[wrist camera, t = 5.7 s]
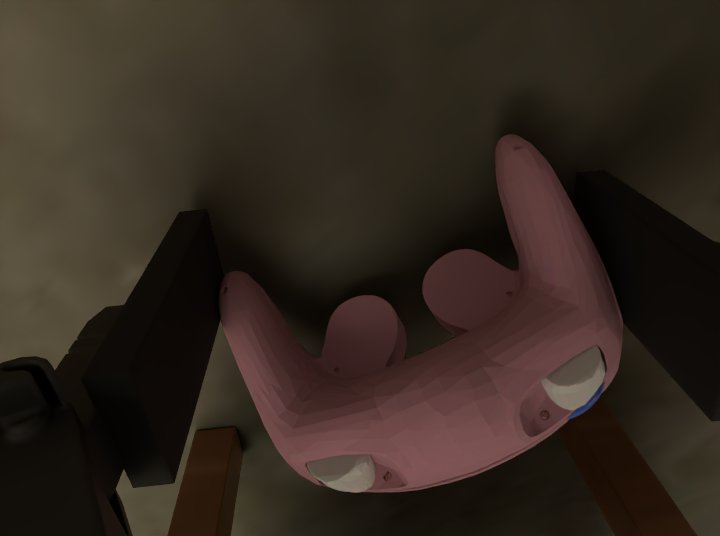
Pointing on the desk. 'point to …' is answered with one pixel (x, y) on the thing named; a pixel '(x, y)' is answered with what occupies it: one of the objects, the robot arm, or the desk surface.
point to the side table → (580, 434)
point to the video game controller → (442, 353)
